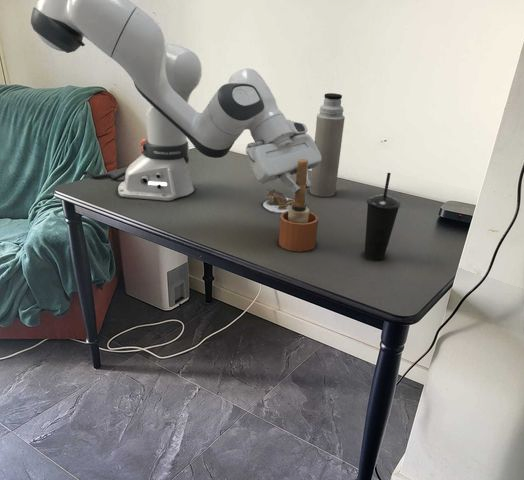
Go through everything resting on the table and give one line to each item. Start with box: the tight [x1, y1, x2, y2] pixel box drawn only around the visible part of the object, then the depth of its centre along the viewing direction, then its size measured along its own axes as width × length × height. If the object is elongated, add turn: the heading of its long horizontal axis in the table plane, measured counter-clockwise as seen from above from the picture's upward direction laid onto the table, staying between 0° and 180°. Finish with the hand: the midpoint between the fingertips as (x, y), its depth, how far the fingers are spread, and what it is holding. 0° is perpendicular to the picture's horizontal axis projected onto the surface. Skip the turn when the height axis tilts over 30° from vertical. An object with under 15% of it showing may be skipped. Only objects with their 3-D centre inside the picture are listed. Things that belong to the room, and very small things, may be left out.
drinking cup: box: [363, 172, 402, 261], centre depth 120 cm, size 8×8×20 cm
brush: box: [288, 159, 310, 223], centre depth 122 cm, size 5×5×15 cm
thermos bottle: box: [309, 92, 346, 198], centre depth 153 cm, size 8×8×28 cm
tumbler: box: [278, 211, 319, 252], centre depth 127 cm, size 9×9×7 cm
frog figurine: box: [262, 188, 306, 214], centre depth 149 cm, size 12×12×4 cm
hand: (302, 189), depth 122 cm, fingers closed on brush, 2 cm apart
